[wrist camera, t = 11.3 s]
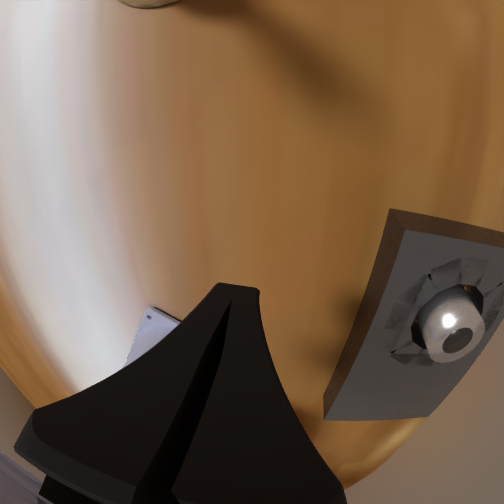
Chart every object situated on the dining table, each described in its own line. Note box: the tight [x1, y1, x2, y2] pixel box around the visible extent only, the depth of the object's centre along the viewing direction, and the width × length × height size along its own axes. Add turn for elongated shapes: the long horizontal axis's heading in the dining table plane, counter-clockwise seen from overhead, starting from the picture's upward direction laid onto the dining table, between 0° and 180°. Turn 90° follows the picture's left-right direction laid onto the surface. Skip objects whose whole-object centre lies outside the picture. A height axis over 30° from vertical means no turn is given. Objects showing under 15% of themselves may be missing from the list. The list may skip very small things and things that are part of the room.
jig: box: [323, 209, 504, 421], centre depth 20 cm, size 20×12×3 cm, turn 176°
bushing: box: [416, 284, 485, 363], centre depth 17 cm, size 4×4×5 cm
